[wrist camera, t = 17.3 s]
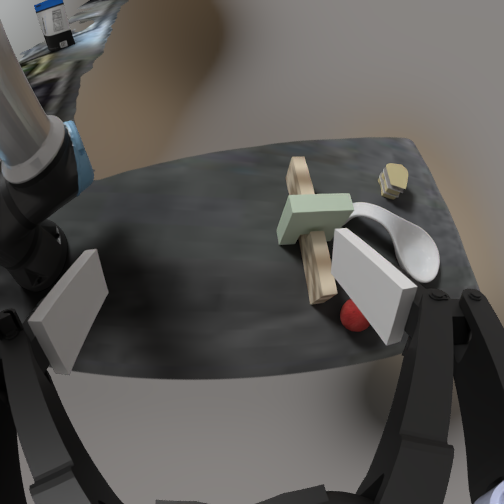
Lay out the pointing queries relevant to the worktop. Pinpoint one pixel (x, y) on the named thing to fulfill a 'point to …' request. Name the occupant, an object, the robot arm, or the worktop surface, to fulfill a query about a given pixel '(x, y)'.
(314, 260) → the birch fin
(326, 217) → the notched piece
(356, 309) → the onion
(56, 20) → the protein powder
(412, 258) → the spoon rest
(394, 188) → the pale yellow layered block
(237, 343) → the worktop surface
